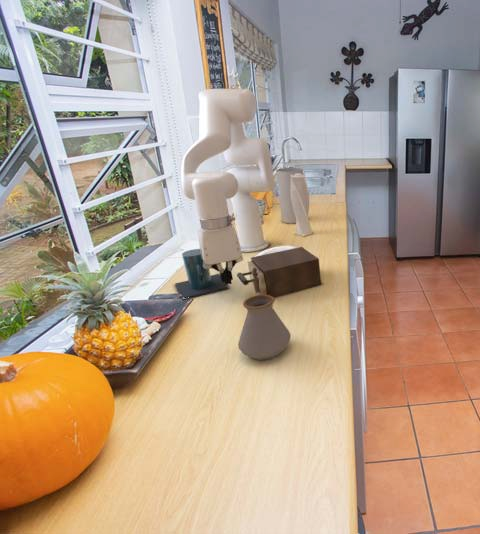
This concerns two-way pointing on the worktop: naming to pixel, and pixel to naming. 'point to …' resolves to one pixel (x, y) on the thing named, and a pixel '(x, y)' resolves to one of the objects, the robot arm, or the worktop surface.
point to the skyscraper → (300, 203)
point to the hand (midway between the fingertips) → (227, 282)
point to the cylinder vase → (286, 193)
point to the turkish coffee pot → (262, 327)
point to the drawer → (260, 277)
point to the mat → (188, 292)
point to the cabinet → (288, 271)
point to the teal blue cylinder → (196, 270)
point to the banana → (275, 250)
